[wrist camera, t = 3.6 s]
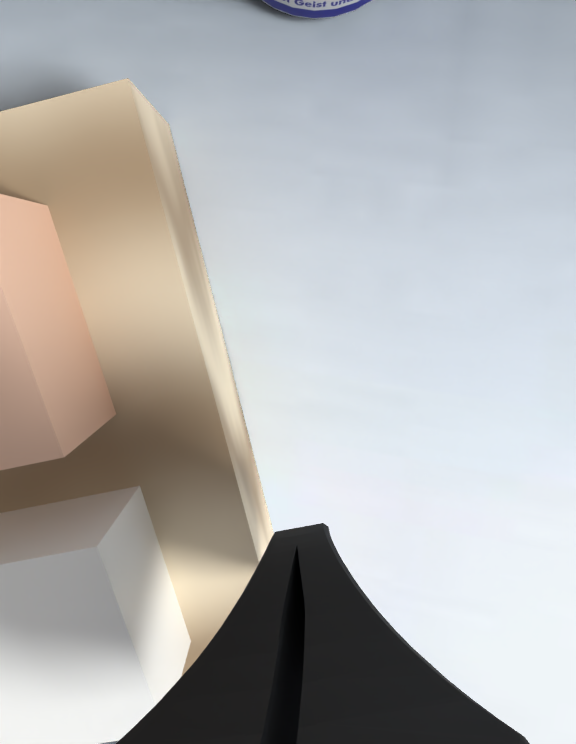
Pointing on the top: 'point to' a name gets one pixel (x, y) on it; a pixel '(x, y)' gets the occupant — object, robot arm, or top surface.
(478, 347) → the top surface
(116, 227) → the board
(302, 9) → the energy drink
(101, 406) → the tile terracotta
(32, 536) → the tile white
